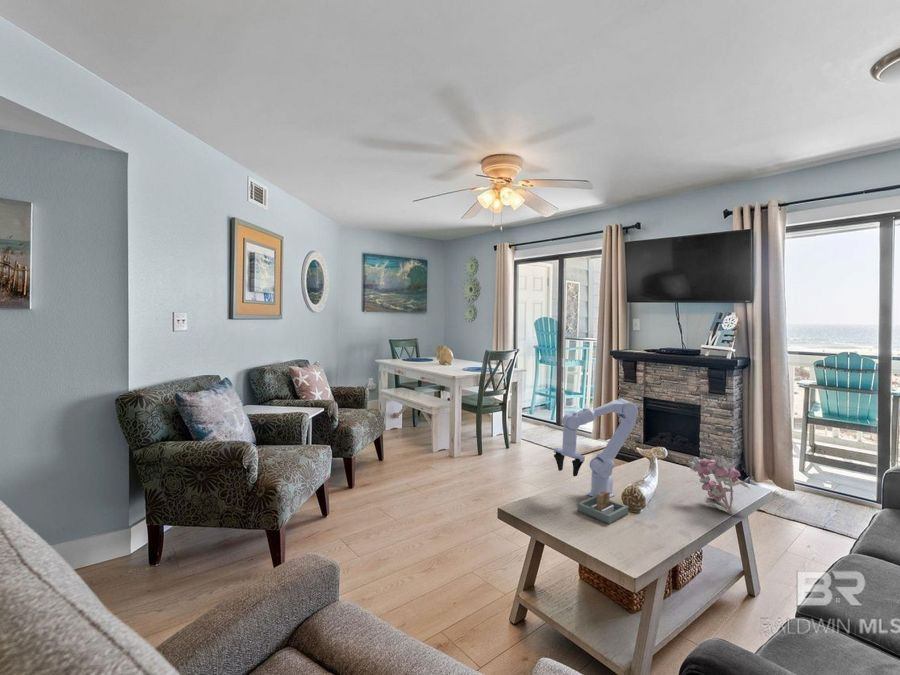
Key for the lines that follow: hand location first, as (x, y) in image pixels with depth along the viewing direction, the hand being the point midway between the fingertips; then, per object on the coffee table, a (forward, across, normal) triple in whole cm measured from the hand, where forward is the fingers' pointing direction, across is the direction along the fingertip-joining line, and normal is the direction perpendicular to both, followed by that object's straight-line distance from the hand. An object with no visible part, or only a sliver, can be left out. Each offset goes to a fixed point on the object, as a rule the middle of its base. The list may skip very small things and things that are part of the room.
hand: (567, 473), depth 191 cm
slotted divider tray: (+10, +18, -2) cm, 21 cm away
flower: (+10, +43, +46) cm, 64 cm away
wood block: (+10, +18, -1) cm, 21 cm away
